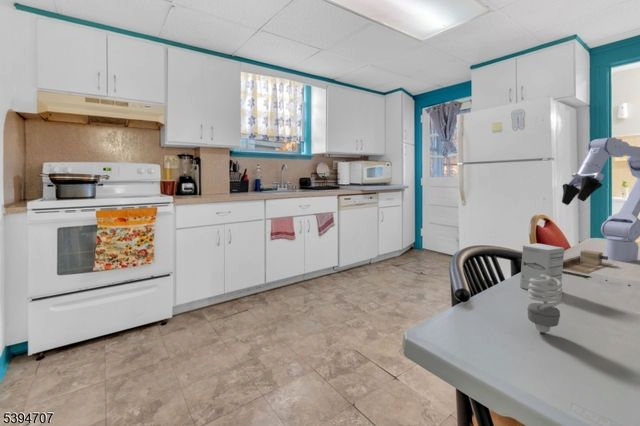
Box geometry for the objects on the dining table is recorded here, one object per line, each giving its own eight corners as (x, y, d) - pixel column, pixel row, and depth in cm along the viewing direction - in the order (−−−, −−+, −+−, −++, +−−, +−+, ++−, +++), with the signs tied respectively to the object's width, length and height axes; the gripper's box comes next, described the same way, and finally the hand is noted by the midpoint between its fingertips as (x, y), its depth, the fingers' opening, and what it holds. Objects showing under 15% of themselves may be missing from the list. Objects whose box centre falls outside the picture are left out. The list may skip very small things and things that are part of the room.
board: (582, 262, 120) (582, 254, 120) (613, 268, 113) (613, 259, 112) (554, 271, 109) (555, 262, 108) (586, 278, 101) (587, 269, 101)
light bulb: (527, 324, 69) (530, 269, 68) (559, 331, 65) (564, 274, 64) (523, 333, 65) (527, 276, 63) (558, 342, 61) (562, 281, 60)
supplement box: (518, 287, 93) (521, 244, 91) (534, 284, 96) (537, 242, 94) (545, 295, 86) (549, 249, 85) (562, 291, 89) (565, 247, 88)
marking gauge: (584, 260, 117) (585, 249, 117) (609, 264, 112) (610, 253, 111) (579, 262, 115) (580, 251, 115) (604, 266, 109) (605, 254, 109)
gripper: (565, 168, 118) (548, 199, 117) (595, 156, 104) (576, 191, 103) (583, 178, 117) (566, 209, 116) (616, 167, 103) (597, 202, 102)
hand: (572, 201), depth 110 cm, fingers open, 7 cm apart
